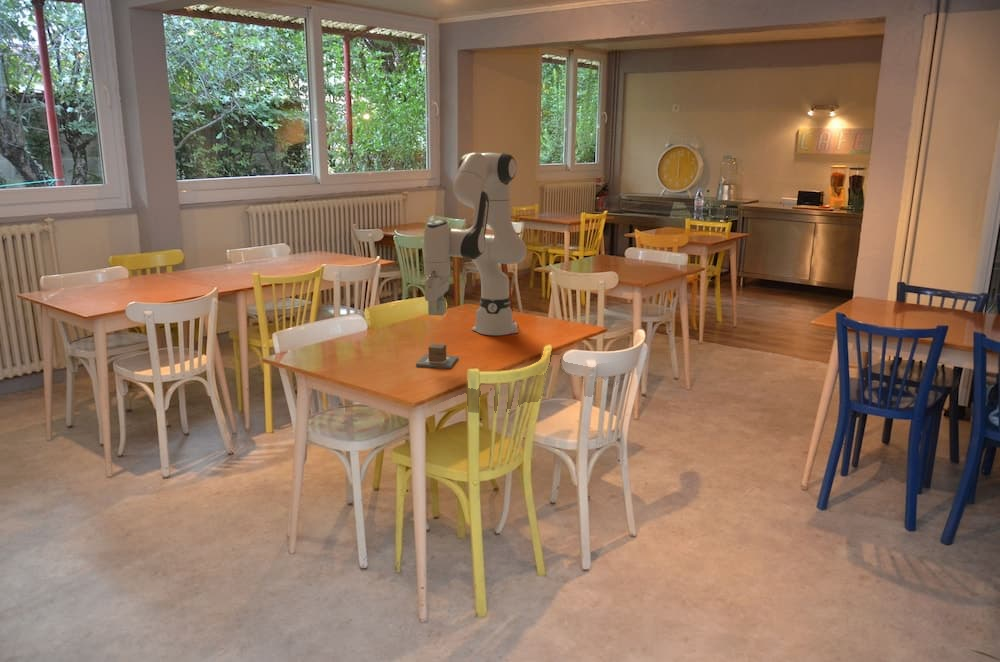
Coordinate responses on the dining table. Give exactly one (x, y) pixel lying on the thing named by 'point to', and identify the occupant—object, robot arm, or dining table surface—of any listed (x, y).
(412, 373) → the dining table surface
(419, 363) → the base plate
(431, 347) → the walnut block
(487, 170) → the robot arm
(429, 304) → the sage block
